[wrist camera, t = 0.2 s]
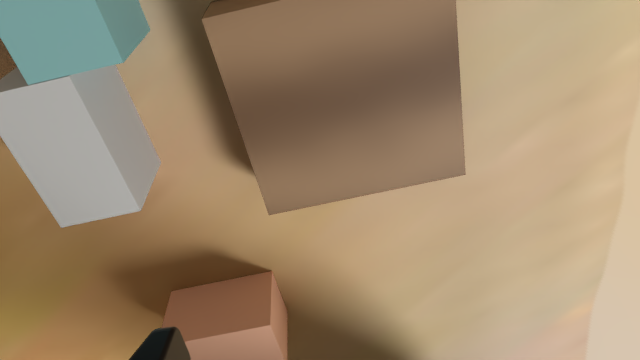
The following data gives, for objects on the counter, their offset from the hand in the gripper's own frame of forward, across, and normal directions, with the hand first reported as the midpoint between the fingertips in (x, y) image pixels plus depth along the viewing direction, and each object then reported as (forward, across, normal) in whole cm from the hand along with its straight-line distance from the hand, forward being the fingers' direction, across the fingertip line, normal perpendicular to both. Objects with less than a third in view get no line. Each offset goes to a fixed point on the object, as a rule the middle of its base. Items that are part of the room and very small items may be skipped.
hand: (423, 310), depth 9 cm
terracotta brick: (+15, +8, +14) cm, 22 cm away
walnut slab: (+15, 0, +1) cm, 15 cm away
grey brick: (+14, +11, +1) cm, 18 cm away
